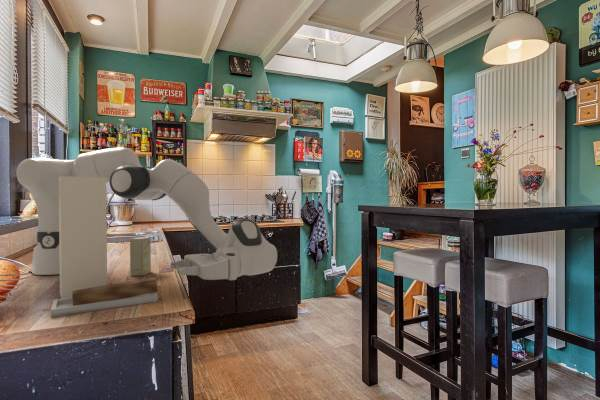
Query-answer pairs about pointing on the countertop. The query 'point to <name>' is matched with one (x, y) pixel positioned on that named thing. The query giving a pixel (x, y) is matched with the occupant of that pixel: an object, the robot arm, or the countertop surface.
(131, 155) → the robot arm
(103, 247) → the tall cream pillar
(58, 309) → the tray
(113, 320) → the countertop surface
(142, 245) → the skincare box
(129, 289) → the walnut bar
